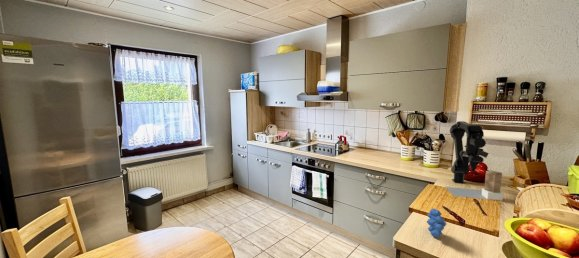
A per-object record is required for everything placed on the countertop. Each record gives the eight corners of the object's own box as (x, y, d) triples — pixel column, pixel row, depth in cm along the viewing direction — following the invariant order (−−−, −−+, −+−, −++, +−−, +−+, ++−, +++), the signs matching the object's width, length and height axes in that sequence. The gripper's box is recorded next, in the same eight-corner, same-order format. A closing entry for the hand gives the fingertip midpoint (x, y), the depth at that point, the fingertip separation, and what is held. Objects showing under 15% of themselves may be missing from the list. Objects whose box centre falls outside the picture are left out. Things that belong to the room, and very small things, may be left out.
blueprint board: (444, 187, 156) (445, 180, 155) (488, 191, 149) (489, 184, 149) (453, 196, 141) (454, 189, 140) (503, 201, 134) (504, 193, 133)
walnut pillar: (484, 189, 140) (486, 171, 138) (490, 188, 141) (492, 170, 140) (493, 192, 135) (495, 173, 134) (500, 191, 136) (502, 172, 135)
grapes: (452, 246, 93) (454, 216, 92) (433, 244, 95) (435, 214, 93) (439, 230, 105) (441, 203, 103) (422, 228, 106) (424, 202, 105)
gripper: (495, 148, 138) (492, 174, 140) (480, 143, 156) (477, 166, 158) (472, 147, 141) (470, 173, 143) (460, 142, 159) (458, 165, 161)
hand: (469, 169), depth 151 cm, fingers open, 9 cm apart
